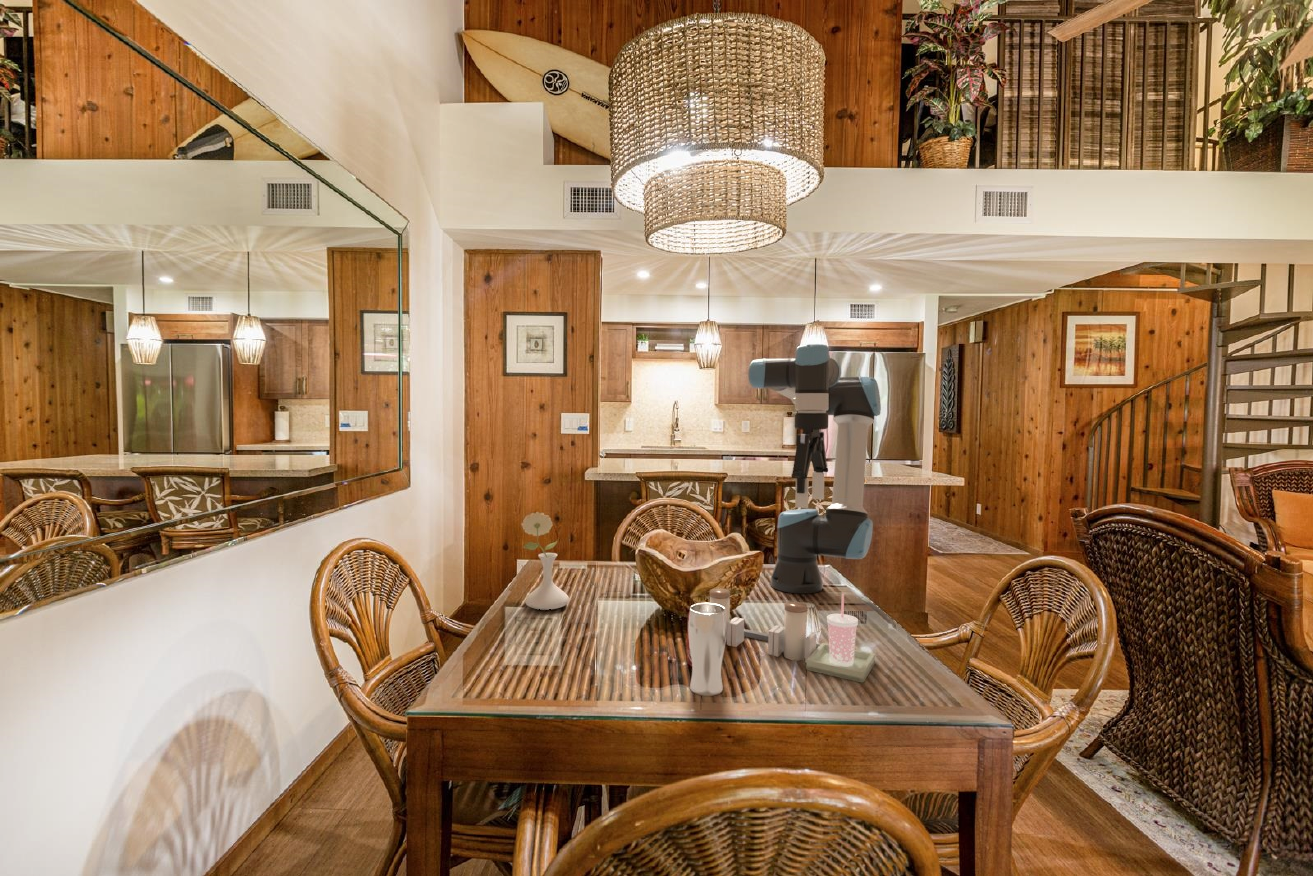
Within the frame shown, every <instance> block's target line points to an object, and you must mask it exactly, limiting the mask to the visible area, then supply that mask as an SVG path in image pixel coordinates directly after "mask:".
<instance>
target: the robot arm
mask: <svg viewBox="0 0 1313 876" xmlns="http://www.w3.org/2000/svg"><path fill="white" fill-rule="evenodd" d="M747 375H748V382H749V384H750V386H751V387H752V388H754V389H761V390H763V389H769V390H772V391H774V392H776V393H778V394H779V395H782V396H784V397H786V398H788V399H789V400H791V403H792V404H793V405H794V410H795V411H797V412H796V413H795V414H794V428H795V429H796V430H802V432H801V433H798V434H797V435H796V437H797V439H796V440H797V441H796V448H795V455H794V460H793V461H794V462H793V468H792V473H791V478H792V479H795V498H794V499H795V500H794V501H795V502H794V503H795V508H798V509H791V510H785V511H782V512H780V514H779V515H778V519H777V526H776V528H777V544H776V545H777V548H776V549H777V551H776V553H777V555H776V556H777V557H776V562H775V566H774V568H773V571H772V574H771V576H770V586H771V587H772V588H773V589H775V590H778V591H781V592H786V593H792V594H815V593H819V592H821V591H823V587H824V586H823V582H824V581H823V579H822V575H821V572H820V569H819V564H818V556H823V557H824V556H826V557H831V558H843V559H846V560H849V559H852V560H862V559H864V558H865V557H866V556H867V554H868V552H869V549H870V546H871V542H872V538H873V529H874V527H873V526H874V523H873V520H872V519H870V518H868V516H869V515H868V511H867V510H866V509H865V508H864V506H863V505H864V491H865V477H866V462H867V446H868V434H869V433H868V432H869V428H870V426H871V425H872V424H874V422H875V417H878V416H880V415H881V412H882V411H881V408H882V407H881V404H882V403H881V396H880V395H881V394H880V387H879V385H878V381H877V379H875V378H874V377H871V376H861V375H859V376H847V377H846V376H843V377H842V368H841V366H840V363H839V362H837V361H836V360H835V359H834V358H832V357H831V356H830V347H829V346H828V345H826V344H819V343H817V344H814V343H812V344H802V345H799V346H797V347H796V349H795V355H794V357H789V358H787V357H785V358H784V357H783V358H758V359H753V360H752V361H751V362H750V363H749V366H748V374H747ZM829 416H833V421H834V423H836V425H837V432H836V433H837V435H836V436H837V437H836V448H835V461H834V472H833V473H834V474H833V485H832V486H833V487H832V497H831V504H830V505H829V506H827V507H826V509H825V515H824V514H819V513H820V512H819V511H818V509H817V508H809V483H810V482H809V478H808V474H809V470H810V465H812V469H813V471H812V475H811V476H812V477H811V479H812V480H811V482H812V483H811V488H812V489H811V499H812V500H822V501H823V500H825V473H828V472H829V467H828V465H827V455H826V448H825V433H824V431H820V430H827V429H828V428H829ZM811 463H812V464H811ZM799 508H800V509H799Z"/></svg>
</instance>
